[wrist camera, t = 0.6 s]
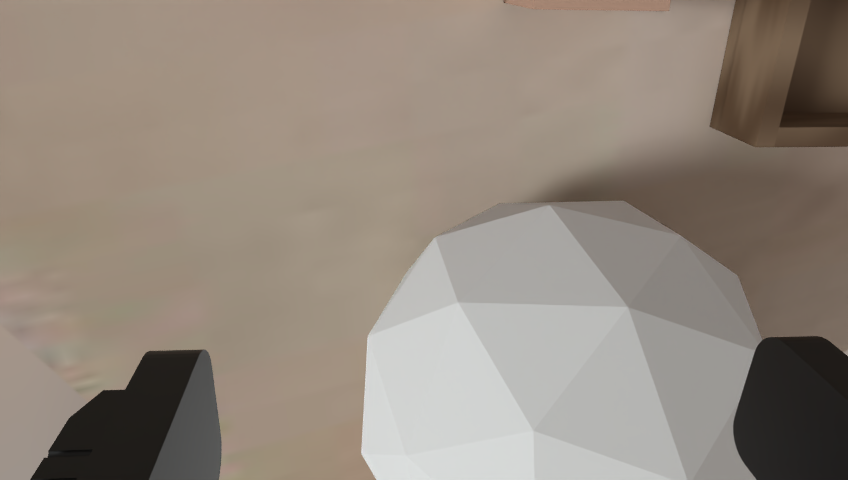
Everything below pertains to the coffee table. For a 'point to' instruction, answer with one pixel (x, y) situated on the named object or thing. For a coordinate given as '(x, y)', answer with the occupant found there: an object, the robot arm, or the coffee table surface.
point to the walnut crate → (785, 74)
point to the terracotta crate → (594, 4)
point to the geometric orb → (559, 353)
